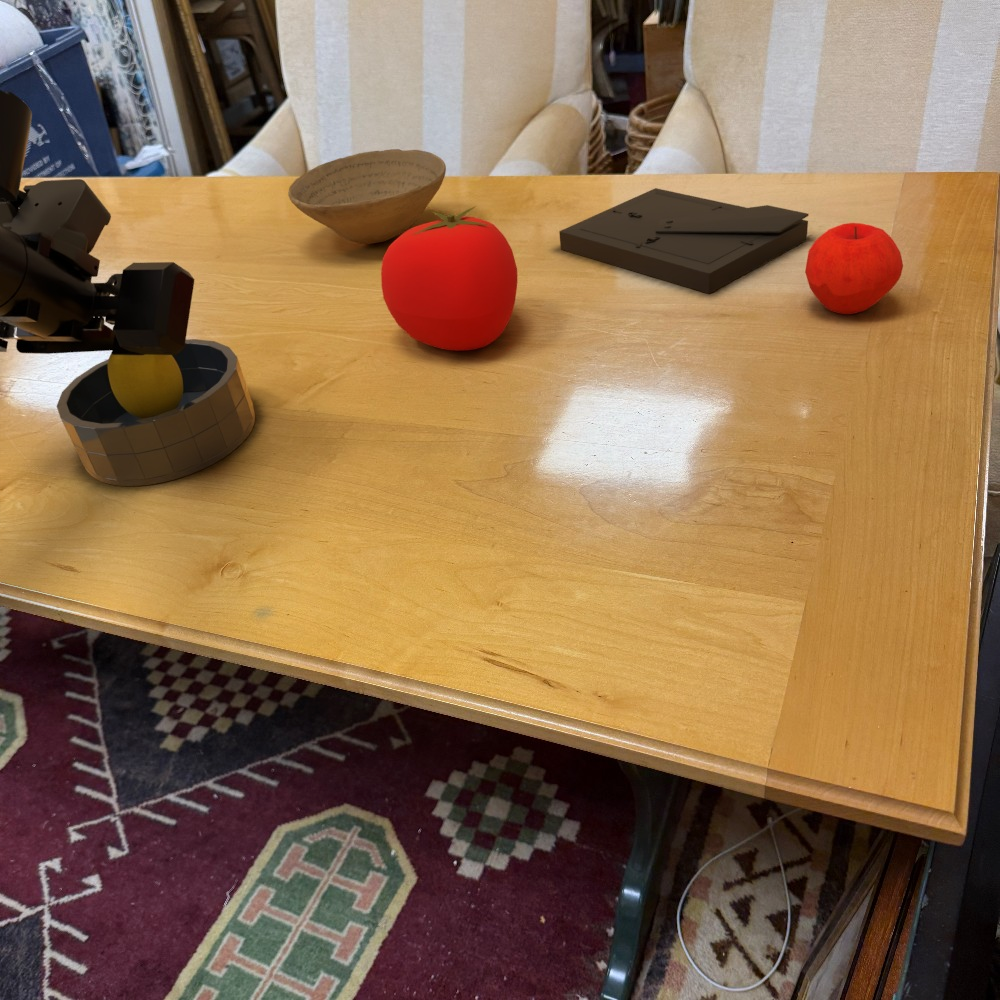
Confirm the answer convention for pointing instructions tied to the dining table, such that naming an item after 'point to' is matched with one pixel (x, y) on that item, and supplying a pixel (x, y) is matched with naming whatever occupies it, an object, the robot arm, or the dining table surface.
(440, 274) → the tomato
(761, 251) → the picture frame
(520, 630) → the dining table surface
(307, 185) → the bowl
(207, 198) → the dining table surface
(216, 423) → the pot
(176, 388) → the lemon
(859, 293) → the apple
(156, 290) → the robot arm
